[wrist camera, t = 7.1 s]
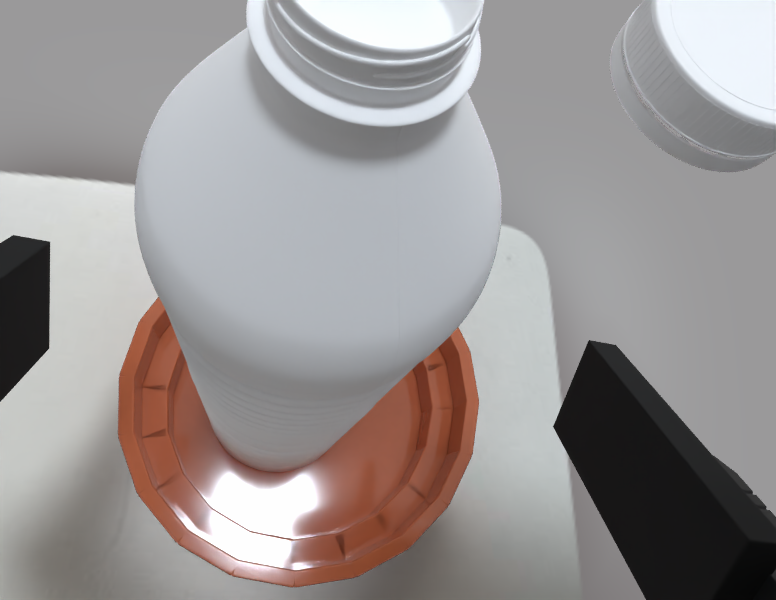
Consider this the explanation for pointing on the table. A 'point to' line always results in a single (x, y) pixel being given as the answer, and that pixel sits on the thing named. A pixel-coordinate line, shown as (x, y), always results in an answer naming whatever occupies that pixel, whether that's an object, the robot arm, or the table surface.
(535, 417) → the table surface
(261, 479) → the bowl
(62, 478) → the table surface
